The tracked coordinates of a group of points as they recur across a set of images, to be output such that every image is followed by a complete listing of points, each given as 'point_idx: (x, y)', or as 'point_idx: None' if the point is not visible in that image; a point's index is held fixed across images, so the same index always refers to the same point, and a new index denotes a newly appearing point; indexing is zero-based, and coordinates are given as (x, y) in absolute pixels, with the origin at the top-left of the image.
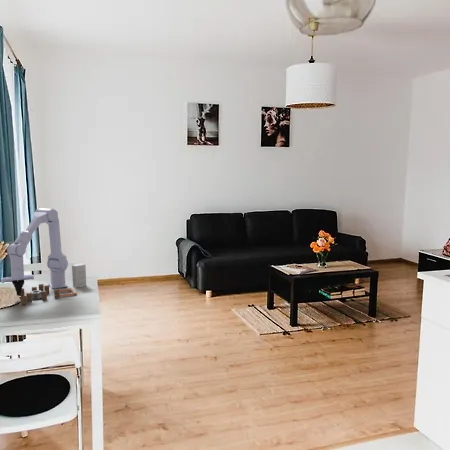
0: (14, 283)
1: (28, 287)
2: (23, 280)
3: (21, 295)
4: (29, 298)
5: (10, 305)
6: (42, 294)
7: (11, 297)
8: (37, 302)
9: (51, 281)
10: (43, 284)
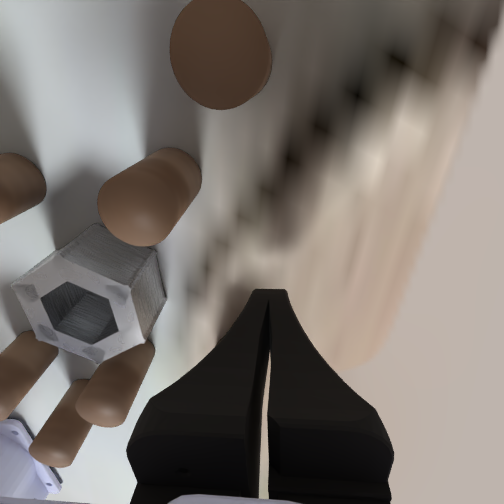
0: (360, 427)
1: None
2: (144, 494)
3: None
4: (154, 158)
5: (397, 108)
6: None
7: None
8: (77, 88)
9: (4, 493)
10: (28, 449)
